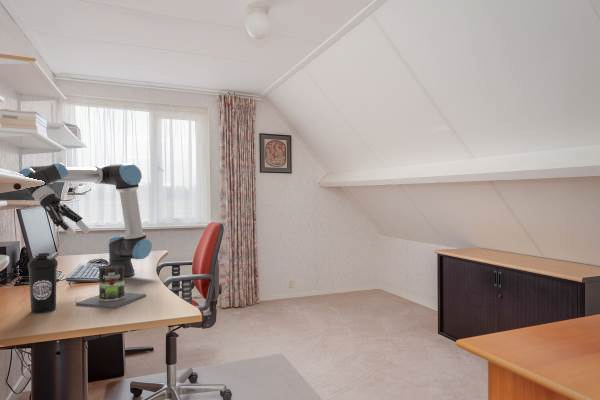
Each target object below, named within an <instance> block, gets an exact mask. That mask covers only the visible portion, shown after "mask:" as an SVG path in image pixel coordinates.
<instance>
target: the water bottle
mask: <svg viewBox="0 0 600 400" xmlns="http://www.w3.org/2000/svg"><path fill="white" fill-rule="evenodd" d="M58 265H59V264H58V260H57V258H56V257H54V256H51V255H50V252H41V253H38V254H37V255H35V257H33V258H31V259H30V260H28V262H27V269H28V275H29V276H28V277H29V278H28V279H29V298H30V312H31V314H45V313H49V312H53V311H55V310H56V309H57V271H58V269H57V267H58Z"/></svg>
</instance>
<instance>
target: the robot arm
mask: <svg viewBox="0 0 600 400" xmlns="http://www.w3.org/2000/svg"><path fill="white" fill-rule="evenodd" d="M17 173H20V174H23V175H24V176H25V177H29V178H33V179H37V180H42V181H44V182H45V184H44V185H41V186H36V187H30V188H24V189H25V190H26V192H28V193H29V194H30V195H31V196H32V197H33V199H34V201H36V202H37V203H39V205H40V206H41V207H42V208H43V209H44V210H45V212H47V214H48V216H49V218H50V219H51V221H52V223H53V224H54V225H55V227H57V228H58V227H59V226H60V228H61V229H63V231H64V232H65V233H66V234H67V235H68V237H70V238H71V237H73V236H75V234H76V233H77V231H76V230H74V228H73V227H72V226H71V225H70V224H69V223H68V222H67V221H64V218H63V217H66V218H67V219H69V220H70V221H72V222H74V223H75V225H76V226H77V227H78V228H79V229H80V230H81V231H82V232H83V233H84V234H85V235H87V234H89V232H91V228H90V227H89V226H87V225H86V223H85V222H84V221H83V217H82V216H80V215H79V214H78V213H76V212H75V211H74V210H72V209H71V208H70V207H69V206H67V204H62V203H61V201H62V199H61V198H60V196H59V195H58V194H57V193H55V191H54V190H53V189H52V188H51V187H50V186H49V185H52V184H53V183H83V182H84V183H87V182H88V183H94V184H100V185H109V186H110V185H112V186H115V190H117V192H119V196H120V204H121V209H122V216H123V222H124V228H125V229H124V230H125V235H119V236H118V235H117V236H112V237H109V239H108V260H109V261H108V265H124V266H125V267H124V278H126V277H132V276H133V275H136V274H135V269H134V266H133V263H132V260H144V259H147V257H149V255H150V253H151V252H152V248H153V245H152V242H151V240H149V239H148V238H147V234H146V233H145V232H143V228H142V227H143V226H142V221H141V214H140V213H141V212H140V208H139V207H140V205H139V198H138V193H137V190H138V189H139V185H140V182H141V180H142V178H143V177H142V176H143V175H142V172H141V170H140V168H139V167H138V166H137V165H136V164H133V163H117V164H116V163H115V164H114V163H113V164H107V165H101V166H100V165H95V166H93V167H78V166H77V167H75V166H73V167H71V166H70V167H66V166H65V164H64V163H62V162H57V163H52V164H51V165H50V164H49V165H40V166H39V165H38V166H37V165H36V166H28V167H26V168H23V169H21V170H20V171H18V172H17Z"/></svg>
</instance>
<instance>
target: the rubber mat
mask: <svg viewBox="0 0 600 400" xmlns="http://www.w3.org/2000/svg"><path fill="white" fill-rule="evenodd" d="M124 296H125V297H124V298H122V299H119V300H114V301H101V300H99V294H98V295H94V296H93V297H90V298H87V299H83V300H80V301H77V302H75V306H82V307H94V308H103V309H105V308H106V309H117V308H120V307H123V306H125V305H127V304H130V303H132V302H133V303H134V302H136V301H137V300H140V299H142V298H145V297H147V293H137V292H125V291H124Z"/></svg>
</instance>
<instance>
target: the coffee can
mask: <svg viewBox="0 0 600 400" xmlns="http://www.w3.org/2000/svg"><path fill="white" fill-rule="evenodd" d="M124 267H125V266H124V265H109V264H106V265H102V266H99V267H98V271H99V272H98V273H99V274H98V277H99V279H98V280H99V282H98V283H99V284H98V285H99V287H98V290H99V291H98V292H99V294H98V295H99V300H101V301H114V300H119V299H122V298H124V297H125V296H124V292H125V277H124Z"/></svg>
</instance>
